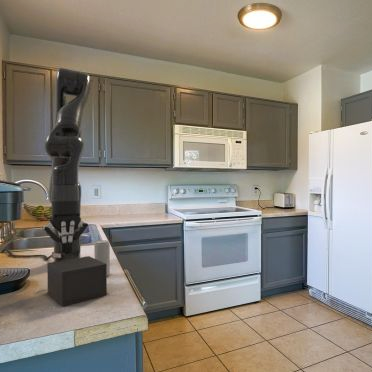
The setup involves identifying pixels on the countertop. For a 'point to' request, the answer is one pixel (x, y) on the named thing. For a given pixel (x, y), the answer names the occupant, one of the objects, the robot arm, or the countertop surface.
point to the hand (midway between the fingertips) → (66, 254)
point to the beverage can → (103, 253)
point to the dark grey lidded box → (76, 280)
